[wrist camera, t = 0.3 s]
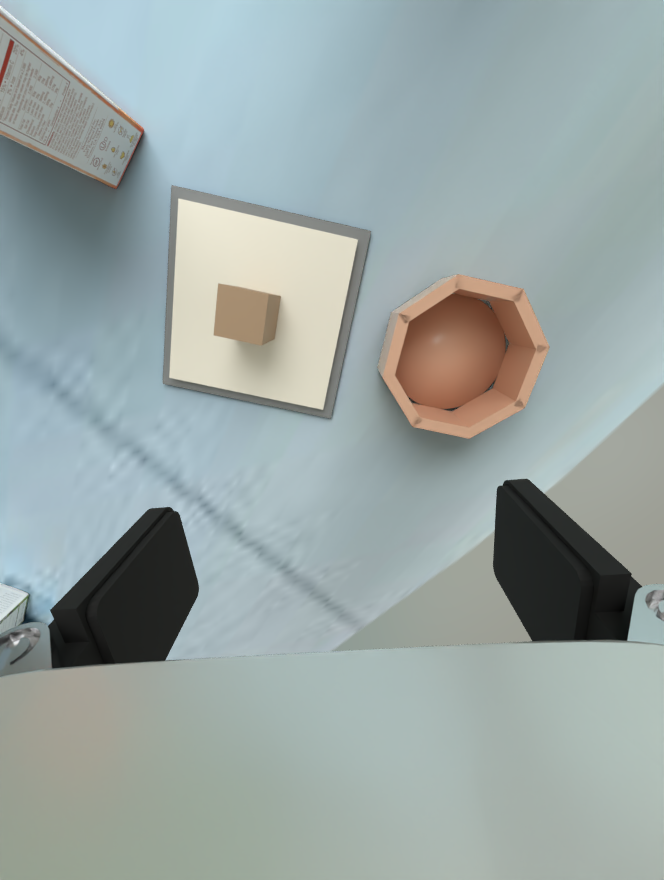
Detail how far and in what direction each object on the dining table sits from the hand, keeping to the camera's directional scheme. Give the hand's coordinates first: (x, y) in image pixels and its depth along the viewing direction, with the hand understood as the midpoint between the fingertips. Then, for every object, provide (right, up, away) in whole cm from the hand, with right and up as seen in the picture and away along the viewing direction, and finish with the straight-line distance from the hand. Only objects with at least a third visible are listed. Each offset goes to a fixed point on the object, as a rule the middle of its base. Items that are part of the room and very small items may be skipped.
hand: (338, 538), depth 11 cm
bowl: (+11, +12, +26) cm, 31 cm away
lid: (-7, +15, +25) cm, 30 cm away
